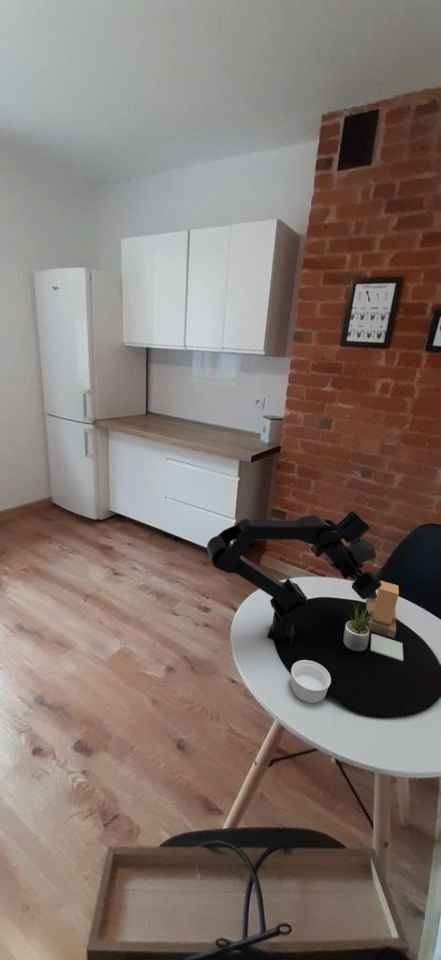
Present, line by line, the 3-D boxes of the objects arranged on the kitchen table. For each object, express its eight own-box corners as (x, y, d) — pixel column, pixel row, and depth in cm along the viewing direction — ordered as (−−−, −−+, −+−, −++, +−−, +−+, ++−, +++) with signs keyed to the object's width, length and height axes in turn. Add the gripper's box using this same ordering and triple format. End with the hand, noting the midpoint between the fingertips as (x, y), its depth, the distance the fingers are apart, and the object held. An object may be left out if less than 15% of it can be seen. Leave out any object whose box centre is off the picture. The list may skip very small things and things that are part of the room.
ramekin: (286, 698, 86) (288, 682, 85) (290, 669, 94) (293, 655, 93) (326, 711, 84) (330, 695, 83) (328, 680, 92) (331, 666, 91)
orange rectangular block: (387, 633, 111) (398, 594, 107) (370, 627, 112) (380, 589, 108) (387, 623, 115) (398, 585, 111) (370, 618, 117) (380, 580, 112)
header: (394, 638, 109) (396, 631, 108) (364, 629, 111) (366, 621, 111) (393, 607, 123) (394, 600, 122) (366, 599, 126) (368, 592, 125)
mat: (402, 661, 100) (403, 660, 100) (370, 650, 103) (370, 649, 103) (401, 644, 107) (402, 643, 107) (371, 634, 109) (371, 633, 109)
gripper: (383, 551, 92) (410, 588, 99) (342, 518, 109) (368, 551, 116) (347, 581, 93) (377, 616, 99) (312, 544, 110) (339, 576, 116)
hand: (365, 587), depth 107 cm, fingers open, 9 cm apart
